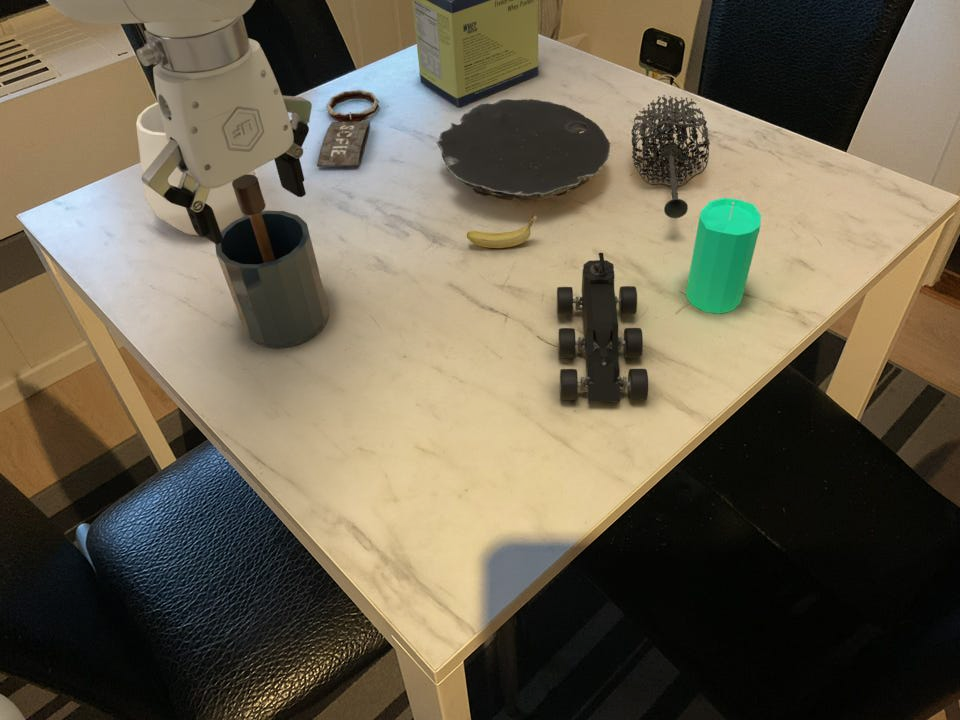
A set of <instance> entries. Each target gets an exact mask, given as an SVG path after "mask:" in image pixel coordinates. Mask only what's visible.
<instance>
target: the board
mask: <svg viewBox="0 0 960 720" xmlns="http://www.w3.org/2000/svg"><path fill="white" fill-rule="evenodd" d="M459 121H460V124H459V123H458V124H456V123H453V122H450V127H449V128H448V129H447V130H443V131H441V132H440V133H439V136H438V137H439V139H438V141H436V145H437V146H438V148H439V151H440V153H441V158H442V160H443V162H444V163H445V165H446V169H447V170H448V172H450V174H451V175H452V176H453V177H454V178H455V179H457V180H458V181H460V182H461V183H463V184H464V185H465V186H467V187H468V188H471V189H472V190H473V192H474V193H475V194H477V195H479V196H492V197H494V198H497V199H502V200H506V201H511V200H515V201H518V202H523V203H524V202H534V203H536V202H539V201H542V200H545V199H549V198H551V197H560V196H564V195H566V194H567V193H568V191H572V190H576V189H578V188H580V187H582V186H583V185H584V184H586V183H587V182H589V181H590V180H591V179H592V178H593V177H595V176H596V175H597V174H599V172H600V170H601V169H602V168H604V166H605V164H606V163H607V161H608V160H609V157H610V152H611V142H610V140H609V139H608V137H607V136H606V134H605V132H604V130H603V129H602V128H601V127H600V125H598V124H597V123H596V122H595V121H593V120H592V119H590V118H589V117H586V116H585V115H584V114H583V113H581V112H579V111H576V110H574V109H572V108H571V107H568V106H566V105H563V104H559V103H554V102H552V101H545V100H540V99H534V98H528V99H527V98H523V99H508V98H504V99H500V100H497V102H494V103H490V102H489V103H488V102H487V103H480V104H478V105H476V106H474V107H472V108H471V109H470V110H469V111H467V112H465V113H463V115H462V116H461V117H460V120H459Z"/></svg>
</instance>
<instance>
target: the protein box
mask: <svg viewBox="0 0 960 720" xmlns="http://www.w3.org/2000/svg"><path fill="white" fill-rule="evenodd" d="M539 1H540V0H411V6H412V14H413V24H414V33H415V42H416V47H417V48H416V50H417V60H418V68H419V79H420V83H421V84H422V85H423V86H425V87H427V88H428V89H429V90H431V91H432V92H434V93H436V94H437V95H439V96H440V97H442V98H443V99H445V100H446V101H448V102H449V103H451V104H452V105H454V106H455V107H457V108H460V107H463V106H466V105H469V104H470V103H473V102H476V101H479V100H480V99H483V98H485V97H488V96H490V95H493V94H495V93H498V92H500V91H503V90H505V89H508V88H510V87H512V86H515V85H518V84H520V83H522V82H525V81H527V80H530V79H532V78H535V77H537V76H539V7H540V5H539Z"/></svg>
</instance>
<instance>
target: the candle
mask: <svg viewBox="0 0 960 720" xmlns="http://www.w3.org/2000/svg"><path fill="white" fill-rule="evenodd" d="M697 223H698V224H697V229H696V235H695V240H694V246H693V251H692V257H691V263H690V267H689V273H688V278H687V284H686V291H685V297H686V299H687V300H688V302H689V303H690V305H691V306H693V307H695V308H696V309H698V310H700V311H702V312H704V313H712V314H718V315H720V314H724V313H728V312H729V313H730V312H733V311H734V310H735V309H736V308H737V307H739V305H741V304H742V300H743V296H744V294H745V293H744V292H745V288H746V285H747V280H748V277H749V273H750V269H751V265H752V261H753V258H754V257H753V256H754V253H755V248H756V245H757V241H758V236H759V234H760V230H761V223H762V215H761V213H760V211H759V210H758V208H757V207H756V205H755V204H754V203H751V202H748V201H745V200H741V199H738V198H730V197H722V198H721V197H720V198H716V199H714V200H709V202H708V203H706V205H705V206H704V207H703V208H702V209H700V213H699V218H698V222H697Z"/></svg>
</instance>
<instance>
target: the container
mask: <svg viewBox="0 0 960 720" xmlns="http://www.w3.org/2000/svg"><path fill="white" fill-rule="evenodd" d="M261 214H262V217H263V220H264V224H265V227H266V230H267V234H268V237H269V240H270V244H271V247H272V250H273V253H274V257H275V261H271V262H267V263H264V262H263V259H262V255H261V252H260V249H259V246H258V243H257V240H256V237H255V233H254V230H253V227H252V224H251V221H250V218H249V215H246V214H245V215H244V216H243V217H242V218H240V219H237V220H235V221H233V222H232V223H231V224H229V225H228V226H227V227H226V228H225V229H223V230H222V231H221V235H222V238H223V240H222V242H221V243H219V244H218V245H216V244H215V243H214V246H215V255H216V257H217V260H218V262H219V263H218V264H219V265H220V268H221V270H222V273H223V276H224V278H225V281H226V284H227V287H228V290H229V292H230V295H231V298H232V300H233V303H234V306H235V308H236V311H237V315H238V317H239V320H240V322H241V325H242V328H243V330H244V332H245V333H246V335H247V337H248V338H249V339H250V340H251V341H253V342H254V343H256V344H257V345H260V346H261V347H267V348H272V349H283V348H291V347H294V346H298V345H301V344H303V343H305V342H307V341H310V340H311V339H313V338H314V337H315V336H317V335H318V334H319V333H320V332H321V331H322V330H323V328H324V327H325V326H326V324H327V322H328V319H329V315H330V309H329V304H328V300H327V297H326V293H325V288H324V285H323V281H322V277H321V273H320V270H319V265H318V262H317V257H316V254H315V250H314V246H313V241H312V238H311V235H310V230H309V227H308V223H307V222H306V221H305V220H303V218H301V217H300V215H297V214H294V213H291V212H289V211H285V210H263V211H261Z"/></svg>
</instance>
